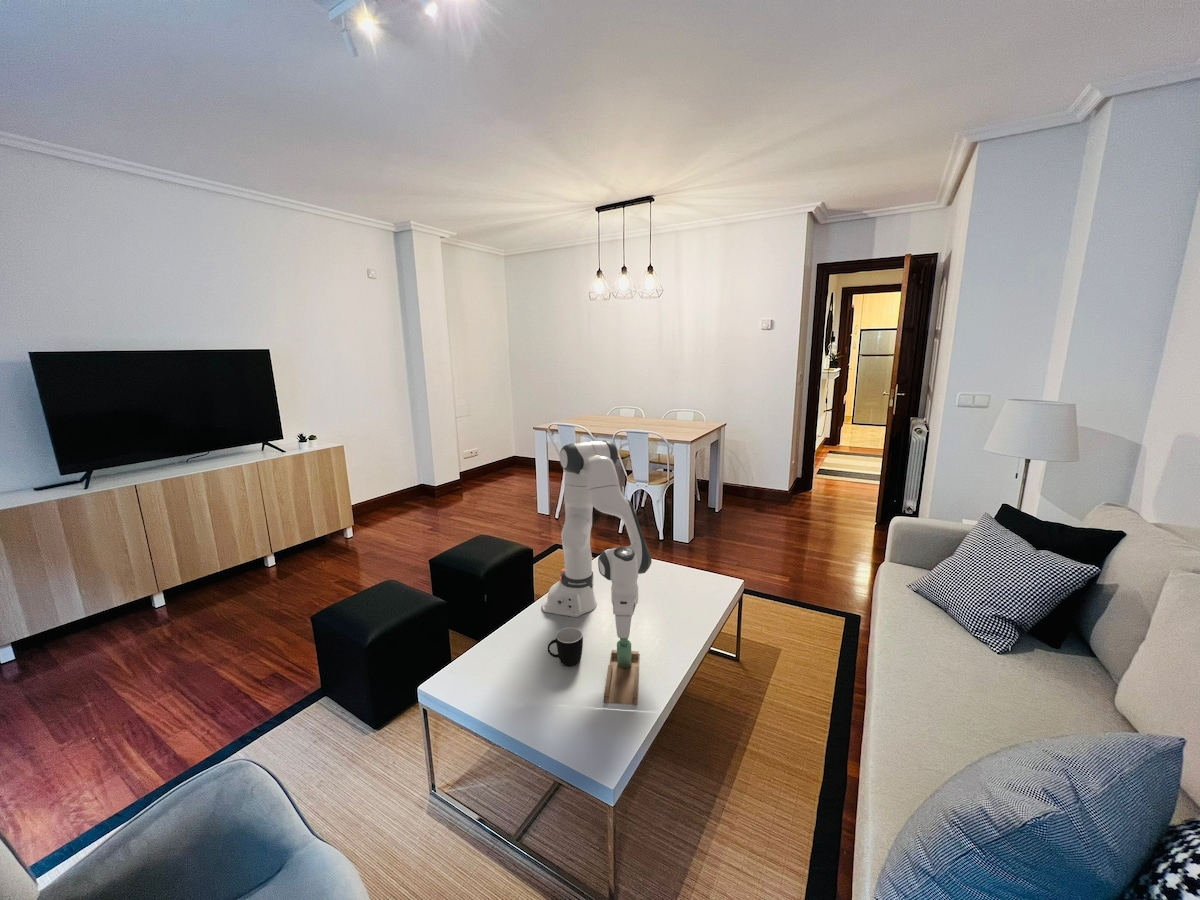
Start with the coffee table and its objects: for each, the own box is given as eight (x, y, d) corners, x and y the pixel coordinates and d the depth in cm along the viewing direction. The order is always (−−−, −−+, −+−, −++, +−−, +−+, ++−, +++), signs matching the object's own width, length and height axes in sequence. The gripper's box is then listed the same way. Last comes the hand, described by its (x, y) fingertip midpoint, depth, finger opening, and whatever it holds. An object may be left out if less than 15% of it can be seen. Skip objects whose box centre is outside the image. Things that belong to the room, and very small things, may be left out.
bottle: (616, 668, 159) (615, 635, 154) (617, 657, 163) (616, 625, 159) (631, 669, 158) (630, 635, 154) (631, 658, 163) (631, 625, 158)
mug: (582, 651, 168) (582, 626, 166) (584, 668, 160) (583, 642, 157) (548, 654, 167) (547, 628, 165) (548, 671, 159) (546, 644, 156)
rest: (603, 703, 144) (603, 695, 144) (611, 652, 167) (611, 646, 167) (637, 705, 143) (637, 697, 142) (639, 654, 166) (640, 647, 166)
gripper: (617, 580, 169) (618, 616, 172) (612, 612, 149) (613, 652, 152) (635, 581, 168) (635, 616, 171) (632, 613, 148) (633, 653, 151)
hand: (625, 633), depth 161 cm, fingers closed
